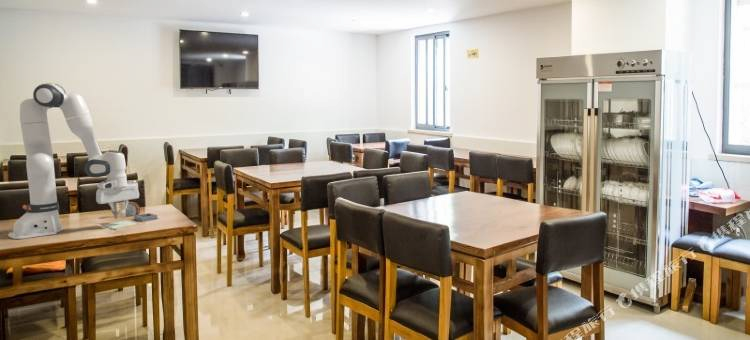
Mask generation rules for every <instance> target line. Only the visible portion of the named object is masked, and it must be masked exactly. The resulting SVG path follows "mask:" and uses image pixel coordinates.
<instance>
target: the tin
mask: <svg viewBox="0 0 750 340" xmlns="http://www.w3.org/2000/svg"><path fill="white" fill-rule="evenodd" d="M111 212H112V214H113V215H114V211H112V210H111ZM140 213H141V207H140V205H139V204H138V203H137V202H134V201H129V202H128V204H127V209H125V214H126V217H128V216H129V217H132V216H133V217H134V216H135V215H140Z"/></svg>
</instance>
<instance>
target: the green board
mask: <svg viewBox="0 0 750 340" xmlns="http://www.w3.org/2000/svg"><path fill="white" fill-rule="evenodd" d="M133 225H134V226H135V225H137V223H136V222H134V221H130V220H122V221H116V222H110V223H105V224H102V227H104V228H106V229H109V230H112V231H117V230H118V228H123V227H128V226H133Z"/></svg>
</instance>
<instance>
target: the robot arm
mask: <svg viewBox="0 0 750 340" xmlns="http://www.w3.org/2000/svg"><path fill="white" fill-rule="evenodd" d="M32 97H33V98H27V99H24V100H22V101H21V102H20V105H19V122H20V129H21V135H22V141H23V147H24V150H25V156H26V157H25V158H26V162H25V163H26V164H25V166H26V174H27V176H26V177H27V183H28V190H29V191H28V192H29V201H30V202H29V204H28V205H27V204H23V205H22V209H23V210H25V211H26V212H25V213H24V214H23V215H22V216H20V217H19V218H18V219H17V220H15V222H14V224H13V231H12V232H11V231H10V232H9V233H8V237H9V238H10V239H12V240H13V239H14V240H23V239H29V238H30V239H31V238H36V237H37V238H38V237H44V236H50V235H56V234H57V233H59V232H62V231H64V227H63V226H62V222H61V218H60V214H59V213H60V205H59V201H58V197H57V186H56V183H57V182H56V174H55V165H54V164H55V162H54V161H55V160H54V154H53V148H52V147H53V146H52V141H51V134H50V129H49V128H50V127H49V121H48V115H47V114H48V110H49V109H51V108H58V109H60V110H61V112H62V114H63V116H64V120H65V122H66V125H67V126H68V128H69V130H70V131H71V133H72V134H73V135H75V136H76V137H77V138H79V140H80V141H81V142H82V144H83V146H84V149H85V152H86V154H87V157H88V161H87V162H86V163H85V165H84V172H85V174H87V176H89V177H91V178H96V179H97V178H98V179H99V178H101V177H104V176H105V177H106V179H105V180H103V181H101V182H99V183H97V185H96V187H97V188H98V189H97V190H96V194H95V195H96V196H95V201H96V203H97V204H98V205H102V204H103V205H104V204H108V206H110V209H111V212H112V211H116V207H114V206H113V202H119V201H122V202H125V209H127V204H128V202H130V201H129V200H136V199H139V198H140V192H139V183H138V181H135V180H130V181H129V180H127V179H128V178H127V177H128V176H127V174H126V170H127V169H126V168H127V165H126V159H125V154H124V153H123V152H122V151H119V150H113V149H112V150H110V149H109V150H107V151H105V152H104V153H103V152H102V151H101V148H100V145H99V143H98V140H97V137H96V133H95V127H94V122H93V121H94V120H93V118H92V115H91V112H90V110H89V107H88V105H87V103H86V101H85V100H84V98H83V96H82V95H81V94H79V93H75V92H71V93H66V91H65V89H64V88H63V87H62V86H61V85H59V84H58V83H49V82H46V83H42V84H39V85H37V86H36V87H35V88H34V89H33V94H32Z"/></svg>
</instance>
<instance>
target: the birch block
mask: <svg viewBox="0 0 750 340" xmlns="http://www.w3.org/2000/svg"><path fill="white" fill-rule="evenodd" d="M112 205H113V206H114V207H116V211H114V214H113V218H114V219H116V220H121V219H125V218H126V217H127V216H126V214H125V202H124V201H118V202H113V204H112Z"/></svg>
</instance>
